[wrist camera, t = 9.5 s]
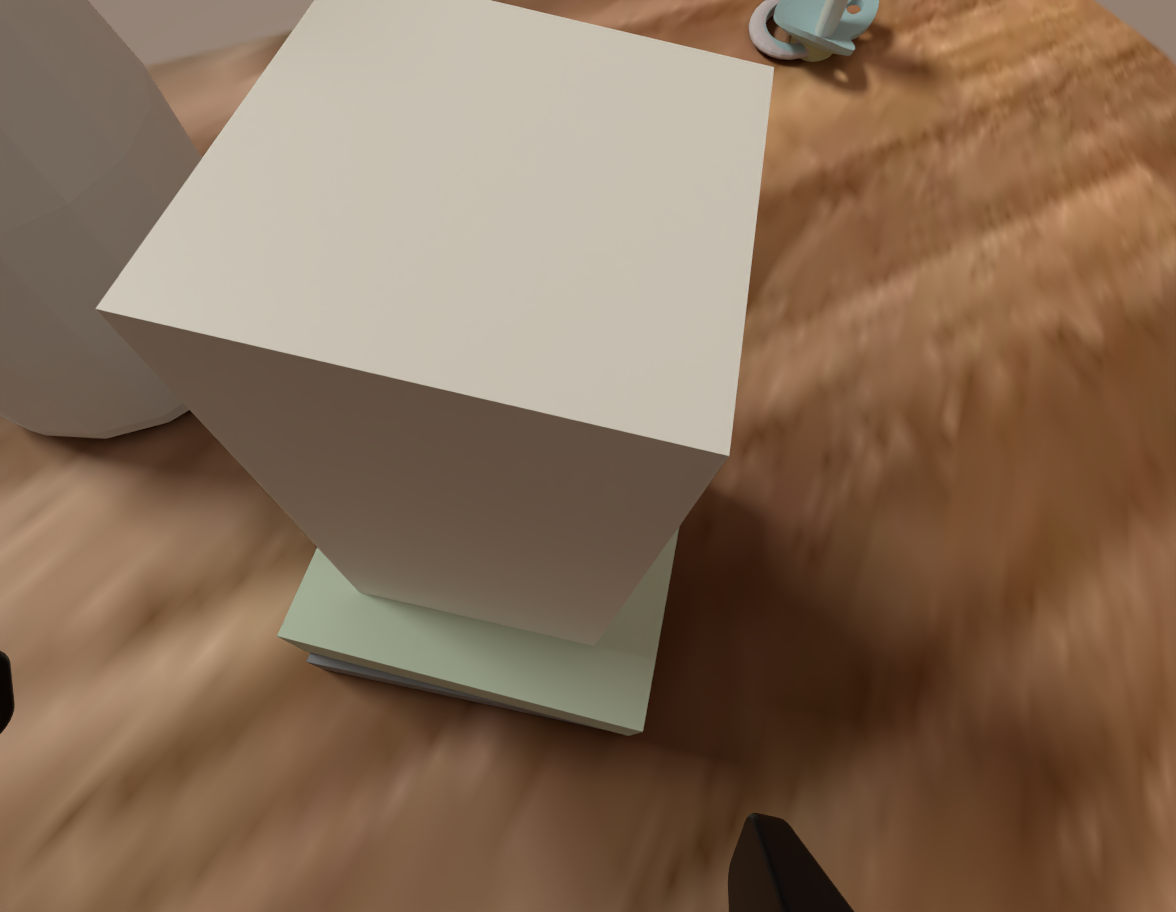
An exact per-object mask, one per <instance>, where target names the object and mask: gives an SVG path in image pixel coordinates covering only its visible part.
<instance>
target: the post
mask: <svg viewBox="0 0 1176 912" xmlns="http://www.w3.org/2000/svg"><path fill="white" fill-rule="evenodd" d="M773 72H774V67H771V66H767V65H762V64H758V63H754V62H750V61H745V60H741V59H737V58H733V57H729V56H724V55H720V54H716V53H712V52H707V51H703V50H699V49H695V48H690V47H686V46H682V45H678V44H673V43H669V42H665V41H661V40H656V39H652V38H648V37H644V36H639V35H635V34H631V33H627V32H623V31H618V30H614V29H610V28H606V27H601V26H597V25H593V24H589V23H584V22H580V21H576V20H572V19H567V18H563V17H559V16H555V15H550V14H546V13H542V12H538V11H534V10H529V9H525V8H521V7H517V6H512V5H508V4H504V3H500V2H495V1H491V0H314V2H313V3H312V4H311V6H310V7H309V9H308V10H307V11H306V13H305V14H304V16H303V17H302V19H301V20H300V21H299V23H298V24H297V25H296V27H295V28H294V30H293V31H292V33H291V34H290V35H289V37H288V38H287V40H286V41H285V42H284V44H283V45H282V47H281V48H280V49H279V51H278V52H277V54H276V55H275V56H274V58H273V59H272V61H271V62H270V64H269V65H268V66H267V68H266V69H265V71H264V72H263V73H262V75H261V76H260V78H259V79H258V80H257V82H256V83H255V85H254V86H253V87H252V89H251V90H250V92H249V93H248V95H247V96H246V97H245V99H244V100H243V102H242V103H241V104H240V106H239V107H238V109H237V110H236V111H235V113H234V114H233V116H232V117H231V118H230V120H229V121H228V123H227V124H226V125H225V127H224V128H223V130H222V131H221V133H220V134H219V135H218V137H217V138H216V140H215V141H214V142H213V144H212V145H211V147H210V148H209V149H208V151H207V152H206V154H205V155H204V156H203V158H202V159H201V161H200V162H199V164H198V165H197V166H196V168H195V169H194V171H193V172H192V173H191V175H190V176H189V178H188V179H187V180H186V182H185V183H184V185H183V186H182V187H181V189H180V190H179V192H178V193H177V195H176V196H175V197H174V199H173V200H172V202H171V203H170V204H169V206H168V207H167V209H166V210H165V211H164V213H163V214H162V216H161V217H160V218H159V220H158V221H157V223H156V224H155V226H154V227H153V228H152V230H151V231H150V233H149V234H148V235H147V237H146V238H145V240H144V241H143V242H142V244H141V245H140V247H139V248H138V249H137V251H136V252H135V254H134V255H133V257H132V258H131V259H130V261H129V262H128V264H127V265H126V266H125V268H124V269H123V271H122V272H121V273H120V275H119V276H118V278H117V279H116V280H115V282H114V283H113V285H112V286H111V287H110V289H109V290H108V292H107V293H106V295H105V296H104V297H103V299H102V300H101V302H100V303H99V304H98V306H97V307H96V310H97V311H98V312H99V313H100V314H101V315H102V316H103V317H104V319H105V320H106V321H107V322H108V323H109V324H110V325H111V326H112V327H113V328H114V329H115V330H116V331H117V333H118V334H119V335H120V336H121V337H122V338H123V339H124V340H125V341H126V342H127V343H128V344H129V345H130V347H131V348H132V349H133V350H134V351H135V352H136V353H137V354H138V355H139V356H140V357H141V358H142V359H143V360H144V362H145V363H146V364H147V365H148V366H149V367H150V368H151V369H152V370H153V371H154V372H155V373H156V374H157V376H158V377H159V378H160V379H161V380H162V381H163V382H164V383H165V384H166V385H167V386H168V387H169V388H170V390H171V391H172V392H173V393H174V394H175V395H176V396H177V397H178V398H179V399H180V400H181V401H182V402H183V403H184V405H185V406H186V407H187V408H188V409H189V410H190V411H191V412H192V413H193V414H194V415H195V416H196V417H197V419H198V420H199V421H200V422H201V423H202V424H203V425H204V426H205V427H206V428H207V429H208V430H209V431H210V433H211V434H212V435H213V436H214V437H215V438H216V439H217V440H218V441H219V442H220V443H221V444H222V445H223V446H224V448H225V449H226V450H227V451H228V452H229V453H230V454H231V455H232V456H233V457H234V458H235V459H236V460H237V462H238V463H239V464H240V465H241V466H242V467H243V468H244V469H245V470H246V471H247V472H248V473H249V474H250V476H251V477H252V478H253V479H254V480H255V481H256V482H257V483H258V484H259V485H260V486H261V487H262V488H263V489H264V491H265V492H266V493H267V494H268V495H269V496H270V497H271V498H272V499H273V500H274V501H275V502H276V503H277V505H278V506H279V507H280V508H281V509H282V510H283V511H284V512H285V513H286V514H287V515H288V516H289V517H290V519H291V520H292V521H293V522H294V523H295V524H296V525H297V526H298V527H299V528H300V529H301V530H302V531H303V532H304V534H305V535H306V536H307V537H308V538H309V539H310V540H311V541H312V542H313V543H314V544H315V545H316V546H317V548H318V549H319V550H320V551H321V552H322V553H323V554H324V555H325V556H326V557H327V558H328V559H329V560H330V562H331V563H332V564H333V565H334V566H335V567H336V568H337V569H338V570H339V571H340V572H341V573H342V574H343V575H344V577H345V578H346V579H347V580H348V581H349V582H350V583H351V584H352V585H353V586H354V587H355V588H356V589H357V591H358V592H361V593H365V594H369V595H374V596H378V597H382V598H387V599H391V600H395V601H400V602H404V603H408V604H413V605H417V606H422V607H426V608H430V609H435V610H439V611H443V612H448V613H452V614H456V615H461V616H465V617H469V618H474V619H478V620H482V621H487V622H491V623H496V624H500V625H504V626H509V627H513V628H517V629H522V630H526V631H530V632H535V633H539V634H544V635H548V636H552V637H557V638H561V639H565V640H570V641H574V642H578V643H583V644H587V645H592V646H595V644H596V643H597V641H598V640H599V639H600V637H601V636H602V634H603V633H604V632H605V630H606V629H607V627H608V626H609V625H610V623H611V622H612V620H613V619H614V618H615V616H616V615H617V613H618V612H619V610H620V609H621V608H622V606H623V605H624V603H625V602H626V601H627V599H628V598H629V596H630V595H631V594H632V592H633V591H634V589H635V588H636V587H637V585H638V584H639V582H640V581H641V579H642V578H643V577H644V575H645V574H646V572H647V571H648V570H649V568H650V567H651V565H652V564H653V563H654V561H655V560H656V558H657V557H658V556H659V554H660V553H661V551H662V550H663V548H664V547H665V546H666V544H667V543H668V541H669V540H670V539H671V537H672V536H673V534H674V533H675V532H676V530H677V529H678V527H679V526H680V525H681V523H682V522H683V520H684V519H685V517H686V516H687V515H688V513H689V512H690V510H691V509H692V508H693V506H694V505H695V503H696V502H697V501H698V499H699V498H700V496H701V495H702V494H703V492H704V491H705V489H706V488H707V486H708V485H709V484H710V482H711V481H712V479H713V478H714V477H715V475H716V474H717V472H718V471H719V470H720V468H721V467H722V465H723V464H724V463H725V461H726V460H727V458H728V457H729V453H730V444H731V436H732V427H733V418H734V410H735V401H736V392H737V384H738V375H739V366H740V358H741V349H742V340H743V332H744V323H745V314H746V306H747V297H748V288H749V280H750V271H751V262H752V254H753V245H754V236H755V228H756V219H757V210H758V202H759V193H760V184H761V176H762V167H763V158H764V150H765V141H766V132H767V124H768V115H769V106H770V98H771V89H772V80H773Z"/></svg>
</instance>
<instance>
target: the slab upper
mask: <svg viewBox="0 0 1176 912" xmlns="http://www.w3.org/2000/svg"><path fill="white" fill-rule="evenodd" d="M678 531H679V527H678V529H677V530H676V532H675V533H674V534H673V536H672V537H671V539H670V540H669V541H668V543H667V544H666V546H665V547H664V548H663V550H662V551H661V553H660V554H659V556H658V557H657V558H656V560H655V561H654V563H653V564H652V565H651V567H650V568H649V570H648V571H647V572H646V574H645V575H644V577H643V578H642V579H641V581H640V582H639V584H638V585H637V587H636V588H635V589H634V591H633V592H632V594H631V595H630V596H629V598H628V599H627V601H626V602H625V603H624V605H623V606H622V608H621V609H620V610H619V612H618V613H617V615H616V616H615V618H614V619H613V620H612V622H611V623H610V625H609V626H608V627H607V629H606V630H605V632H604V633H603V634H602V636H601V637H600V639H599V640H598V641H597V643H596V644H595V646H592V645H587V644H583V643H578V642H574V641H570V640H565V639H561V638H557V637H552V636H548V635H544V634H539V633H535V632H530V631H526V630H522V629H517V628H513V627H509V626H504V625H500V624H496V623H491V622H487V621H482V620H478V619H474V618H469V617H465V616H461V615H456V614H452V613H448V612H443V611H439V610H435V609H430V608H426V607H422V606H417V605H413V604H408V603H404V602H400V601H395V600H391V599H387V598H382V597H378V596H374V595H369V594H365V593H361V592H358V591H357V589H356V588H355V587H354V586H353V585H352V584H351V583H350V582H349V581H348V580H347V579H346V578H345V577H344V575H343V574H342V573H341V572H340V571H339V570H338V569H337V568H336V567H335V566H334V565H333V564H332V563H331V562H330V560H329V559H328V558H327V557H326V556H325V555H324V554H323V553H322V552H321V551H320V550H319V549H318V548H317V549H316V551H315V554H314V556H313V558H312V560H311V562H310V565H309V567H308V569H307V571H306V573H305V576H304V578H303V580H302V582H301V584H300V587H299V589H298V591H297V593H296V595H295V598H294V600H293V602H292V604H291V606H290V609H289V611H288V613H287V615H286V618H285V620H284V622H283V624H282V626H281V629H280V631H279V633H278V635H277V636H278V637H280V638H282V639H284V640H285V641H287V642H289V643H291V644H293V645H295V646H296V647H298V648H300V649H302V650H304V651H306V652H310V653H314V654H318V655H322V656H325V657H329V658H333V659H337V660H341V661H345V662H348V663H352V664H356V665H360V666H364V667H367V668H371V669H375V670H379V671H383V672H386V673H390V674H394V675H398V676H402V677H406V678H409V679H413V680H417V681H421V682H425V683H428V684H432V685H436V686H440V687H444V688H447V689H451V690H455V691H459V692H463V693H467V694H470V695H474V696H478V697H482V698H486V699H489V700H493V701H497V702H501V703H505V704H509V705H512V706H516V707H520V708H524V709H528V710H531V711H535V712H539V713H543V714H547V715H550V716H554V717H558V718H562V719H566V720H570V721H573V722H577V723H581V724H585V725H589V726H592V727H596V728H600V729H604V730H608V731H611V732H615V733H619V734H623V735H627V736H630V735H633V734H637V733H641V732H643V728H644V723H645V717H646V712H647V706H648V700H649V695H650V689H651V683H652V678H653V672H654V666H655V661H656V655H657V650H658V644H659V638H660V633H661V627H662V621H663V616H664V610H665V604H666V599H667V593H668V588H669V582H670V576H671V571H672V565H673V559H674V554H675V548H676V542H677V537H678Z"/></svg>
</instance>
